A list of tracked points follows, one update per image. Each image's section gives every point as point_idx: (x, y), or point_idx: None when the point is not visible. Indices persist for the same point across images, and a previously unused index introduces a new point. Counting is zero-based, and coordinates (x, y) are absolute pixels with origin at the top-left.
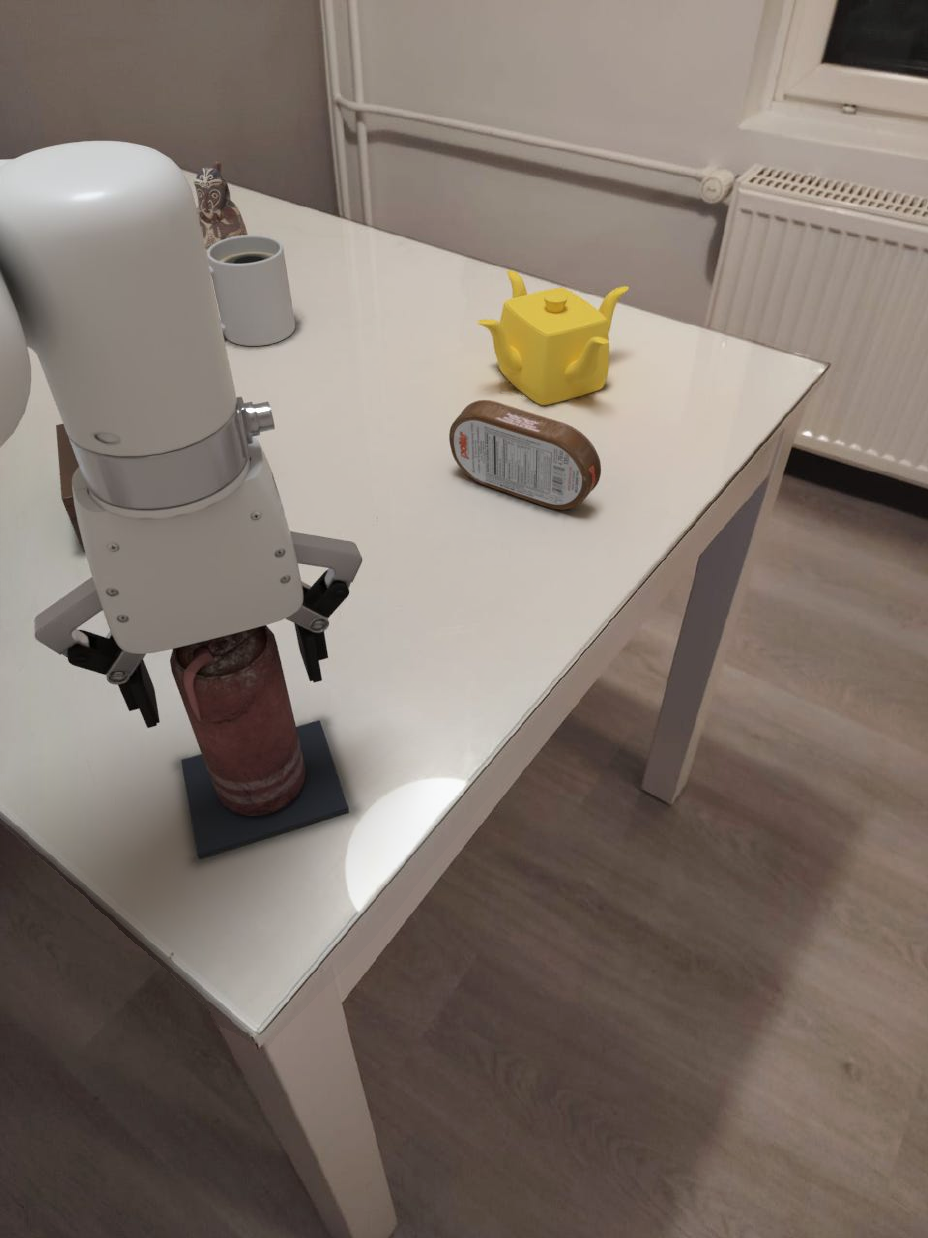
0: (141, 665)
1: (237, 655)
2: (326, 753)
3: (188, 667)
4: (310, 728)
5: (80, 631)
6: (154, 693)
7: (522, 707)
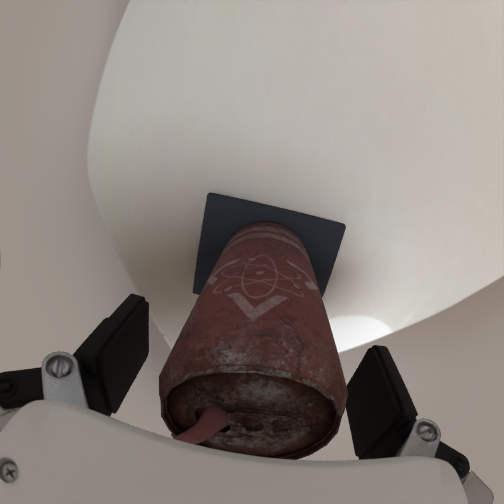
0: (110, 387)
1: (263, 441)
2: (330, 264)
3: (180, 439)
4: (333, 230)
5: (4, 411)
6: (146, 316)
7: (458, 299)
